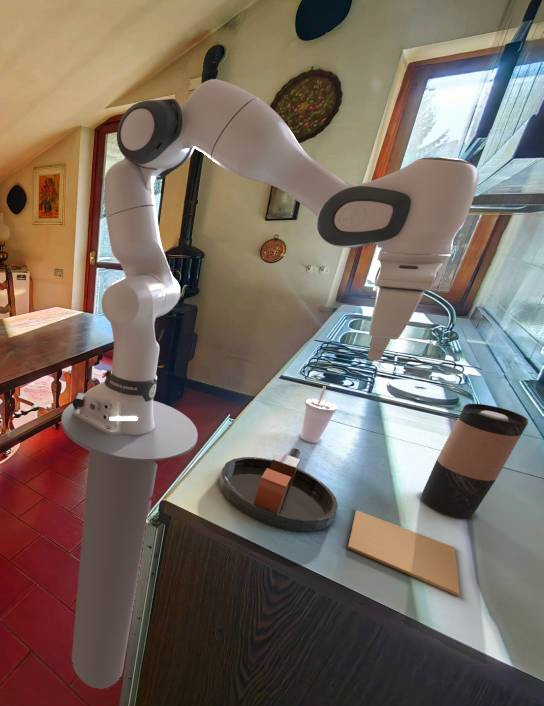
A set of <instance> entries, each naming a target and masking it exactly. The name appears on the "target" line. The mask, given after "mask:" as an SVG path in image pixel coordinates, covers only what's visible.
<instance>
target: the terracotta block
mask: <svg viewBox="0 0 544 706" xmlns="http://www.w3.org/2000/svg"><path fill="white" fill-rule="evenodd" d="M290 479H291V477H290V476H287V475H284V474H282V473H279V472H276V471H274V470H271V469H268V468H267V469H266V471H265V472H264V474H263V476H262V477H261V480H260V484H259V487H258V490H257V494H256V497H255V501H254V504H257V505H259V506H261V507H264V508H266V509H268V510H271V511H273V512H275V513H278V511H279V509H280V507H281V505H282V503H283V500H284V497H285V494H286V491H287V488H288V485H289V482H290Z"/></svg>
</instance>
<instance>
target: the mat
mask: <svg viewBox="0 0 544 706" xmlns="http://www.w3.org/2000/svg"><path fill="white" fill-rule="evenodd" d="M347 549H348V550H351V551H353V552H355V553H357V554H360V555H362V556H364V557H367V558H369V559H371V560H373V561H376V562H378V563H380V564H383V565H385V566H387V567H390V568H393V569H395V570H397V571H399V572H401V573H404V574H405V575H406V574H407V575H408V576H411V577H413V578H415V579H418V580H419V581H422V582H425V583H427V584H429V585H432V586H434V587H435V588H438V589H440V590H442V591H446V592H447V593H450V594H452V595H454V596H456V597H459V596H460V584H459V575H458V574H459V573H458V564H457V555H456V548H455V547H454V546H452V545H449V544H446V543H444V542H442V541H439V540H436V539H434V538H431V537H428V536H426V535H423V534H421V533H417V532H416V531H413V530H411V529H407V528H404V527H402V526H399V525H397V524H394V523H392V522H389V521H386V520H383V519H381V518H379V517H376V516H373V515H371V514H368V513H365V512H362V511H361V510H357V509H356V510H355V513H354V517H353V521H352V526H351V530H350V534H349V539H348V543H347Z"/></svg>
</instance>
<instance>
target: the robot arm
mask: <svg viewBox="0 0 544 706" xmlns="http://www.w3.org/2000/svg"><path fill="white" fill-rule="evenodd" d="M116 129H117V130H116V143H117V147H118V149H119V151H120V152H121V154H122V156H123V157H124V158H123V159H121V160H119V161H117V162H115V163H114V164H112V165H111V166H110V167H109V169H108V170H107V171H106V173H105V175H104V184H103V185H104V186H103V188H104V189H103V194H104V195H103V197H104V199H103V200H104V212H105V219H106V226H107V232H108V239H109V243H110V250H111V254H112V255H113V257H114V258H115V260H117V261H118V263H119V264H120V266H121V268H122V270H123V272H124V276H125V277H122V278H121V279H119V280H117V281H115V282H113V283H111V284H110V285H109V286H108V287H107V288H106V289H105V290H104V292H103V294H102V297H101V310H102V313H103V315H104V317H105V319H106V320H107V321H108V322H109V323H110V326H111V327H110V328H111V331H112V338H113V353H112V365H111V368H110V369H108V370H106V372H103V373H102V374H101V375H102V376H101V378H102V379H104V378H105V379H104V381H103V382H101V383H100V382H99V383H98V384H96V385H94V386H93V387H91V388H90V389H87V391H86V392H83V393H82V392H78V393H77V394H76V395H75V398H74V399H73V401H72V403H73V406H74V409H73V415H75V416H77V417H78V418H80V419H82V420H84V421H85V422H87V423H89V424H91V425H92V426H94V427H96V428H98V429H99V430H101V431H103V432H105V433H106V434H108V435H120V434H125V435H141V434H146V433H149V432H150V431H152V430H153V429H154V427H155V424H154V418H153V401H154V398H155V395H156V392H157V382H158V376H157V369H158V364H159V356H160V344H159V343H158V341H157V339H156V331H155V322H156V318H159V317H162V316H164V315H166V314H168V313H169V312H170V311H171V310H173V308H175V306H176V305H177V304H178V302H179V301H180V297H181V286H180V284H179V282H178V280H177V279H176V277H174V275H173V273H172V271H171V268H170V264H169V263H168V260H167V257H166V254H165V252H164V249H163V245H162V240H161V235H160V228H159V220H158V214H157V206H156V199H155V191H154V190H155V189H154V186H155V182H156V180H157V181H161V180H163V179H164V178H166V177H167V176H168V175H169V174H171V173H172V172H174V171H175V170H178V169H179V168H180V167H182V166H183V165H184V164H185V163H186V162H187V161H188V160H189V159H191V157H192V155H193V153H194V150H195V149H196V150H197V151H199V152H201V153H202V154H204V155H205V156H206V157H207V158H209V159H210V160H211V161H213V162H214V163H215V164H217V165H218V166H220V167H222V168H223V169H225V170H227V171H228V172H230V173H232V174H234V175H237V176H240V177H242V178H245V179H247V180H251V181H255V182H260V183H263V184H266V185H270V186H272V187H274V188H276V189H279V190H281V191H282V192H284V193H286V194H287V195H288V196H290V197H291V198H293V200H295V201H297V202H298V203H300V204H301V205H302V206H304V207H305V208H306V209H308V210H309V211H310V212H312V213H313V214H314V215H315V216H316V217H317V219H316V228H317V232H318V235H319V236H320V237H321V238H322V239H323V241H324V242H326V243H328V244H330V245H331V246H334V247H337V248H343V249H344V248H345V249H346V248H347V249H348V248H349V249H353V248H361V247H364V246H367V245H370V244H375V245H376V246H377V249H376V252H375V255H374V257H373V261H372V264H371V266H370V269H369V271H368V276H367V278H366V280H367V281H370V282H372V283H373V284H374V286H373V288H372V291H373V292H375V293H376V295H375V301H374V306H373V309H372V316H371V320H370V323H369V324H370V325H369V330H368V331H369V332H368V333H369V336H371V338H370V341H369V347H370V348H369V350H368V352H367V355H366V358H367V359H368V360H370V361H376V362H379V361H381V360H382V358H383V355H384V352H385V351H386V349H387V347H388V345H389V344H390V342H391V340H397V339H399V338H400V337H401V335H402V334H403V333H404V331H405V329H406V328H407V326H408V324H409V323H410V321H411V319H412V317H413V315H414V313H415V312H416V310H417V308H418V305H419V304H420V302H421V300H422V298H423V297H424V294H425V292H429V291H431V290H432V288H433V287H438V286H439V285H440V282H441V279H442V277H443V274H444V272H445V270H446V267H447V265H448V262H449V260H450V258H451V256H452V253H453V243H454V239H455V237H456V235H457V234H458V233H459V231H460V229H462V227H464V226H463V225H465V222H466V219H467V218H468V214H469V212H470V209H471V207H472V203H473V201H474V198H475V195H476V192H477V188H478V183H479V177H480V173H479V169H478V168H477V166H476V165H475V164H474V163H472V162H470V161H468V160H464V159H460V158H453V157H440V156H436V157H434V156H433V157H432V156H431V157H430V156H429V157H422V158H418V159H415V160H414V161H412V162H411V163H410V164H408V165H406V166H405V167H402V168H400V169H398V170H395V171H394V172H391V173H389V174H387V175H384V176H382V177H379V178H376V179H373V180H370V181H366V182H362V183H360V184H356V185H352V184H349V183H347V182H345V181H343V180H342V179H341V178H339V176H337V175H335V174H334V173H332V172H331V171H330V170H329V169H327V168H325V167H324V166H322V165H321V164H319V163H318V162H317V161H316V160H314V159H313V158H312V157H311V156H309V154H308V153H307V152H306V151H305V150H304V149H303V147H302V146H301V144H300V143H299V142H298V140H297V139H296V136H295V135H294V133H293V132H292V131H291V129H290V127H289V126H288V125H287V123H286V122H285V120H284V119H283V118H282V117H281V116H280V115H279V114H278V112H276V111H275V110H274V108H272V107H271V106H270V105H269V104H267V103H266V102H265V101H263V100H262V99H261V98H259V97H257V96H256V95H255V94H253V93H251V92H249V91H248V90H246V89H244V88H242V87H240V86H238V85H235V84H233V83H230V82H227V81H225V80H221V79H217V78H212V79H208V80H206V81H204V82H202V83H201V84H199V85H198V86H197V87H196V88H195V89H194V90H193V91H192V92H191V94H190V95H189V96H188V98H187V99H186V100H185V101H184V102H183V103H181V104H179V102H178V101H177V100H176V98H164V99H148V100H143V101H139V102H137V103H134V104H133V105H131V106H130V107H129V108H128V109H127V110H126V111H125V112H124V113H123V115H122V116H121V118H120V120H119V123H118V125H117V128H116Z"/></svg>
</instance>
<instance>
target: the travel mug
mask: <svg viewBox="0 0 544 706" xmlns="http://www.w3.org/2000/svg"><path fill="white" fill-rule="evenodd" d="M528 424H529V419H528V418H527V417H525V416H524V415H522V414H520V413H518V412H515V411H512V410H509V409H505V408H502V407H499V406H494V405H489V404H483V403H467V404H465V405H463V408H462V410H461V411H460V414H459V416H458V418H457V420H456V422H455V423H454V426H453V427H452V430H451V431H450V433H449V435H448V437H447V439H446V441H445V443H444V444H443V446H442V449H441V450H440V453H439V454H438V456H437V458H436V460H435V462H434V465H433V468H432V469H431V471H430V473H429V477H428V478H427V481H426V483H425V485H424V488H423V490H422V492H421V495H420V498H421V501H422V502H423V503H424V504H425V505H427V507H430V508H431V509H432V510H435V511H436V512H439V513H441V514H443V515H446V516H449V517H454V518H456V519H457V518H458V519H470V518H472V516H473V515H474V514H475V513H476V511H477V510H478V508H479V506H480V505H481V504H482V502H483V501H484V499H485V498H486V496H487V494H488V493H489V491H490V490H491V488H492V486H493V485H494V484H495V482H496V480H497V479H498V477H499V475H500V474H501V472H502V471H503V469H504V466H505V465H506V463H507V461H508V460H509V458H510V456H511V454H512V452H513V450H514V449H515V447H516V445H517V443H518V442H519V440H520V438H521V437H522V435H523V433H524V431H525V430H526V427H527V426H528Z"/></svg>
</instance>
